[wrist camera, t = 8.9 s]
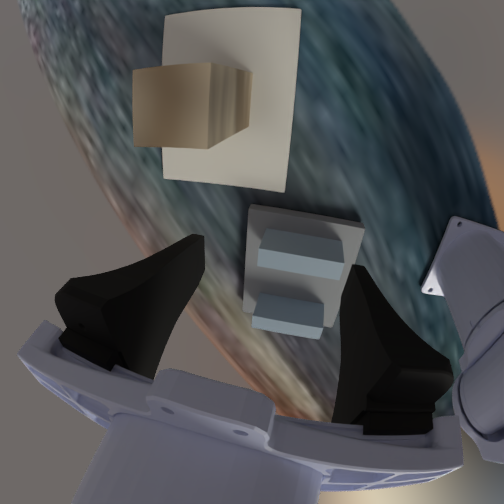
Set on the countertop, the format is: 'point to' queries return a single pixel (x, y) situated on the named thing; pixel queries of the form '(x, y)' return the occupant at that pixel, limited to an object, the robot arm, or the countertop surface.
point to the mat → (262, 95)
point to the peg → (189, 105)
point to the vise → (297, 268)
